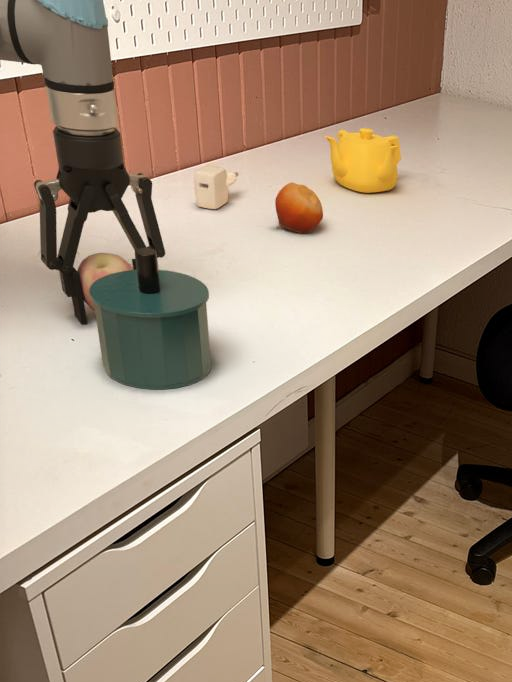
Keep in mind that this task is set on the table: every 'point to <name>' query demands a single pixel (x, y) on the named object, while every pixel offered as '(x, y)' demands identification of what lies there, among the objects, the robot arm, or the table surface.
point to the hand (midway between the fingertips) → (113, 314)
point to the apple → (99, 271)
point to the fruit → (298, 208)
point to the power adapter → (212, 186)
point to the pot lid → (148, 290)
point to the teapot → (365, 160)
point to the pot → (155, 348)
